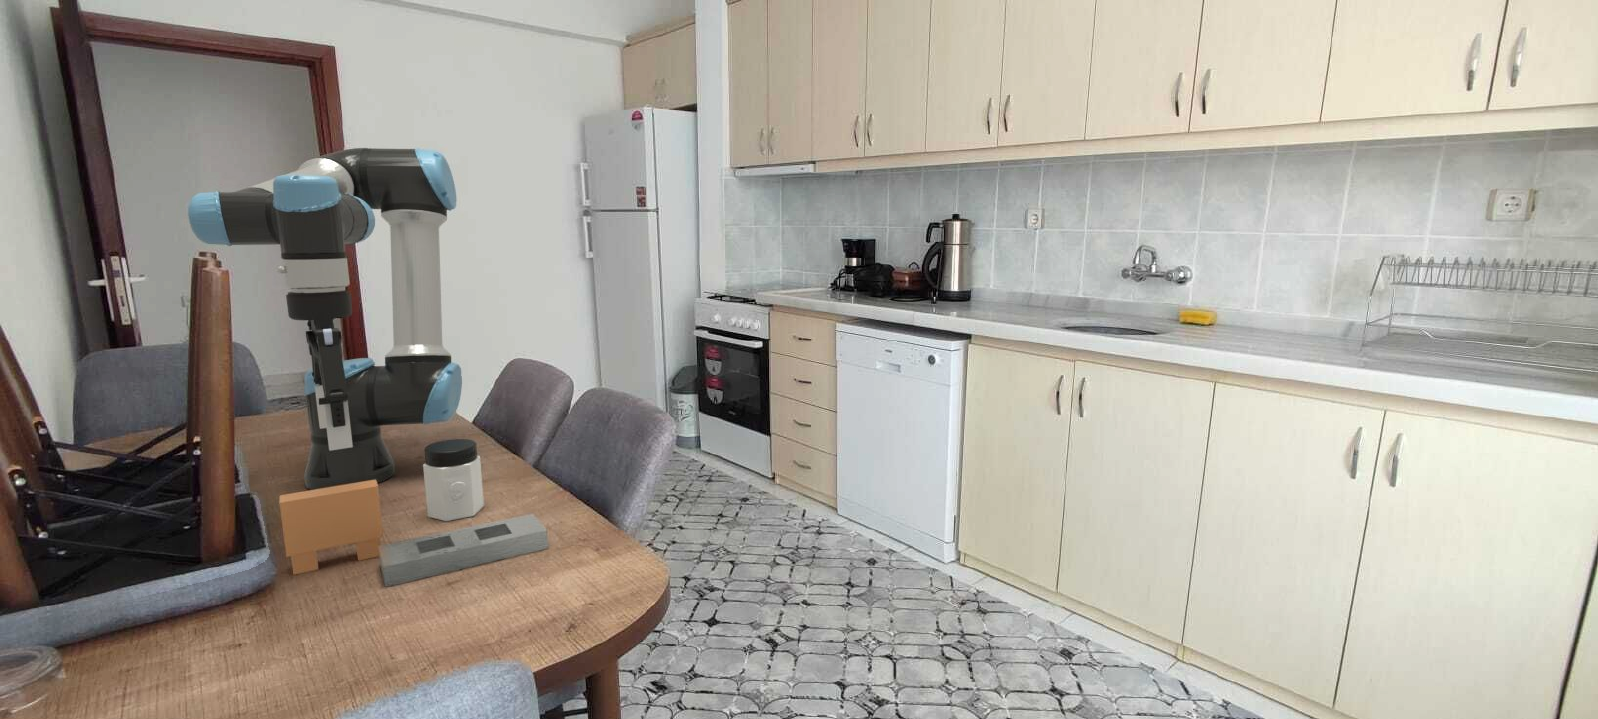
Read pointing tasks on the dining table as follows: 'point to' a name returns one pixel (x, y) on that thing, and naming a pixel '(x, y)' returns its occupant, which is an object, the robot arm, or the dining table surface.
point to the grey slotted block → (460, 549)
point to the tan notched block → (331, 522)
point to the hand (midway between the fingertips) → (335, 437)
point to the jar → (453, 479)
